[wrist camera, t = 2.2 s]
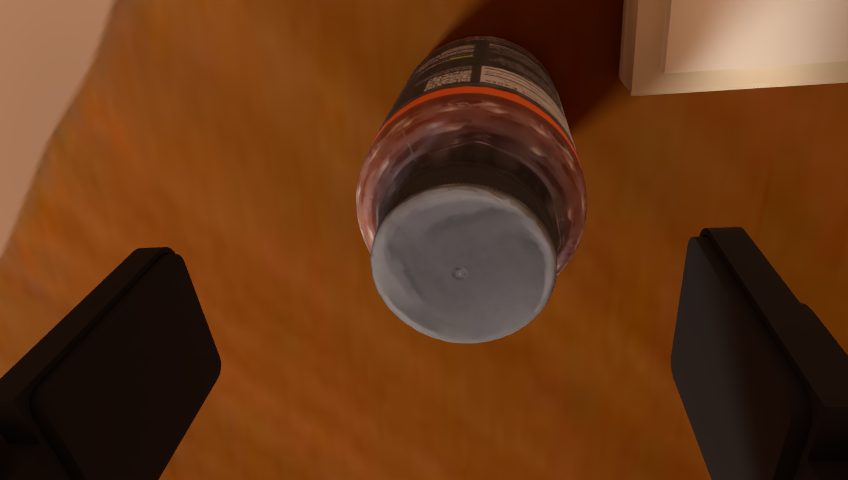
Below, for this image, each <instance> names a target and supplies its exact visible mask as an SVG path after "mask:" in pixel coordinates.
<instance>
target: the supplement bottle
mask: <svg viewBox="0 0 848 480" xmlns="http://www.w3.org/2000/svg"><path fill="white" fill-rule="evenodd" d="M356 211H357V217H358V223H359V226H360V230H361V233H362V236H363V239H364V241H365V244H366V246H367V248H368V249H369V252H370V253H371V271H372V275H373V279H374V282H375V285H376V287H377V290H378V292H379V294H380V296H381V297H382V299H383V300H384V302H385V303H386V305H387V306H388V307H389V308H390V309H391V310H392V311H393V313H394V314H395V315H396V316H398V317H399V318H400V319H401V320H402V321H404V322H405V323H406V324H407V325H409V326H411V327H413V328H414V329H415V330H417V331H419V332H421V333H424V334H426V335H428V336H431V337H433V338H437V339H441V340H444V341H448V342H454V343H480V342H485V341H491V340H495V339H499V338H502V337H505V336H507V335H510V334H512V333H514V332H515V331H517V330H519V329H521V328H522V327H524V326H525V325H527V324H528V323H529V322H530V321H531V320H533V319H534V318H535V317H536V316H537V315H538V314H539V313H540V312H541V310H542V309H543V308H544V306H545V305H546V304H547V302H548V300H549V297H550V295H551V293H552V291H553V288H554V285H555V283H556V277H557V275H558V274H559V273H560V272H561V271H562V270H563V269H564V268H565V266H566V265H567V264H568V262H569V261H570V259H571V258H572V257H573V254H574V252H575V250H576V249H577V247H578V244H579V242H580V239H581V237H582V233H583V229H584V223H585V219H586V212H587V199H586V187H585V180H584V176H583V172H582V168H581V165H580V162H579V158H578V154H577V151H576V148H575V145H574V142H573V139H572V136H571V133H570V130H569V127H568V124H567V121H566V118H565V114H564V111H563V108H562V105H561V102H560V99H559V95H558V93H557V90H556V87H555V85H554V83H553V81H552V79H551V77H550V75H549V73H548V72H547V70H546V69H545V67H544V66H543V65H542V64H541V62H540V61H539V60H538V59H537V58H536V57H535V56H534V55H532V54H531V53H530V52H529V51H528V50H526V49H524V48H523V47H521V46H519V45H517V44H515V43H513V42H511V41H508V40H505V39H502V38H497V37H493V36H473V37H466V38H463V39H458V40H455V41H452V42H449V43H447V44H446V45H444V46H442V47H440V48H438V49H436V50H435V51H434V52H433V53H431V54H430V55H429V56H427V57H426V58H425V59H424V60H423V61H422V63H421V64H420V65H418V66H417V68H416V69H415V70H414V72H413V73H412V75H411V76H410V78H409V80H408V81H407V83H406V85H405V87H404V88H403V90H402V92H401V93H400V95H399V97H398V99H397V101H396V102H395V104H394V106H393V107H392V109H391V111H390V113H389V114H388V116H387V117H386V119H385V121H384V123H383V125H382V126H381V128H380V130H379V132H378V134H377V135H376V137H375V139H374V141H373V143H372V145H371V147H370V149H369V151H368V154H367V156H366V158H365V160H364V163H363V166H362V169H361V172H360V175H359V179H358V185H357V190H356Z"/></svg>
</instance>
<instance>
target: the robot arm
mask: <svg viewBox="0 0 848 480" xmlns="http://www.w3.org/2000/svg"><path fill="white" fill-rule="evenodd" d="M671 369H672V374H673V378H674V381H675V383H676V386H677V389H678V391H679V394H680V397H681V399H682V402H683V405H684V407H685V410H686V413H687V415H688V418H689V421H690V423H691V426H692V429H693V431H694V434H695V437H696V439H697V442H698V445H699V447H700V450H701V453H702V455H703V458H704V461H705V463H706V466H707V469H708V471H709V474H710V477H711V479H712V480H848V355H847V354H846V353H845V352H844V350H843V349H842V348H841V346H840V345H839V344H838V343H837V341H836V340H835V339H834V338H833V336H832V335H831V334H830V332H829V331H828V330H827V329H826V327H825V326H824V325H823V323H822V322H821V321H820V320H819V318H818V317H817V316H816V314H815V313H814V312H813V311H812V310H811V309H810V308H809V307H808V306H807V305H806V304H803V303H800V302H799V301H798V300H797V298H796V297H795V296H794V294H793V293H792V292H791V290H790V289H789V288H788V286H787V285H786V284H785V283H784V281H783V280H782V279H781V277H780V276H779V275H778V273H777V272H776V271H775V270H774V268H773V267H772V266H771V264H770V263H769V262H768V260H767V259H766V258H765V256H764V255H763V254H762V253H761V251H760V250H759V249H758V247H757V246H756V245H755V243H754V242H753V241H752V239H751V238H750V237H749V236H748V234H747V233H746V232H745V230H744V229H742V228H741V227H726V228H704V229H703V230H702V231H701V233H700V236H699V237H691V238H690V240H689V242H688V247H687V254H686V261H685V267H684V274H683V281H682V287H681V294H680V301H679V307H678V314H677V321H676V327H675V334H674V341H673V347H672V354H671ZM220 371H221V360H220V356H219V354H218V351H217V348H216V346H215V343H214V340H213V338H212V335H211V332H210V330H209V327H208V324H207V321H206V319H205V316H204V313H203V311H202V308H201V305H200V303H199V300H198V297H197V295H196V292H195V289H194V287H193V284H192V281H191V278H190V276H189V273H188V270H187V268H186V265H185V262H184V260H183V258H182V257H181V256H180V255H178V254H175V252H174V251H173V250H172V249H170V248H168V247H158V248H138V249H136V250H135V251H133V252H132V253H131V254H130V255H129V256H128V257H127V258H126V259H125V260H124V261H123V262H122V263H121V264H120V265H119V266H118V267H117V268H116V269H115V270H114V271H113V272H111V273H110V274H109V275H108V276H107V277H106V278H105V279H104V280H103V281H102V282H101V283H100V284H99V285H98V286H97V287H96V288H95V289H94V290H93V291H92V292H91V293H89V294H88V295H87V296H86V297H85V298H84V299H83V300H82V301H81V302H80V303H79V304H78V305H77V306H76V307H75V308H74V309H73V310H72V311H71V312H70V313H69V314H68V315H66V316H65V317H64V318H63V319H62V320H61V321H60V322H59V323H58V324H57V325H56V326H55V327H54V328H53V329H52V330H51V331H50V332H49V333H48V334H47V335H46V336H45V337H43V338H42V339H41V340H40V341H39V342H38V343H37V344H36V345H35V346H34V347H33V348H32V349H31V350H30V351H29V352H28V353H27V354H26V355H25V356H24V357H23V358H21V359H20V360H19V361H18V362H17V363H16V364H15V365H14V366H13V367H12V368H11V369H10V370H9V371H8V372H7V373H6V374H5V375H4V376H3V377H2V378H1V379H0V480H158V479H159V478H160V476H161V474H162V473H163V471H164V469H165V467H166V466H167V464H168V462H169V461H170V459H171V457H172V456H173V454H174V452H175V450H176V449H177V447H178V445H179V444H180V442H181V440H182V438H183V437H184V435H185V433H186V432H187V430H188V428H189V427H190V425H191V423H192V421H193V420H194V418H195V416H196V415H197V413H198V411H199V410H200V408H201V406H202V404H203V403H204V401H205V399H206V398H207V396H208V394H209V393H210V391H211V389H212V387H213V386H214V384H215V382H216V381H217V379H218V377H219V375H220Z"/></svg>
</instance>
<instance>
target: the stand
mask: <svg viewBox="0 0 848 480" xmlns="http://www.w3.org/2000/svg"><path fill="white" fill-rule="evenodd" d="M619 79H620V80H621V82H622V83H623V85H624V86H625V88H626V89H627V91H628V92H629V93H630V95H631V96H639V95H655V94H671V93H687V92H702V91H718V90H734V89H750V88H766V87H782V86H797V85H813V84H829V83H845V82H848V0H624V4H623V19H622V35H621V50H620V66H619Z"/></svg>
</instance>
